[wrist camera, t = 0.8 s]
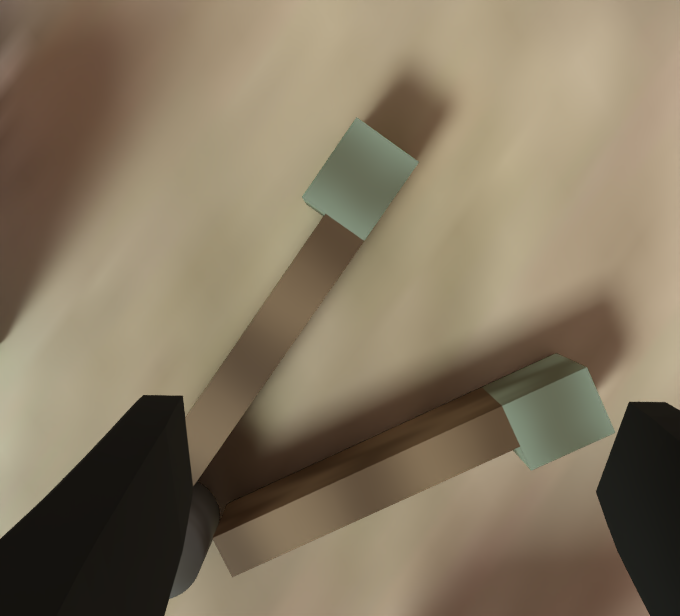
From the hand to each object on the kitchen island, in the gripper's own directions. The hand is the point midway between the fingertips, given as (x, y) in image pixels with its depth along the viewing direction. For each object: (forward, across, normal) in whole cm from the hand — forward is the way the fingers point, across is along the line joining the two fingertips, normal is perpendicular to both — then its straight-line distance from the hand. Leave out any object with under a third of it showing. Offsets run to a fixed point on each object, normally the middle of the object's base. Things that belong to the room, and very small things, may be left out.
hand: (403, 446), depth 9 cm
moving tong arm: (+14, -3, +14) cm, 20 cm away
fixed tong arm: (+17, +4, +10) cm, 20 cm away
